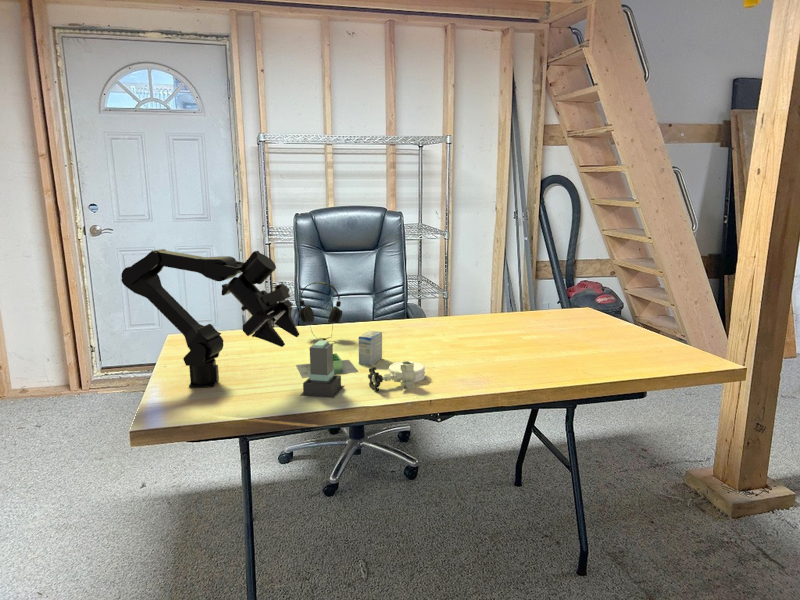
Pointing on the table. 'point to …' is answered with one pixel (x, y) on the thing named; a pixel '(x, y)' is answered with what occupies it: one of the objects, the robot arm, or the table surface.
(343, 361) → the port
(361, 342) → the medicine box
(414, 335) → the table surface
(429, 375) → the table surface
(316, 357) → the plug
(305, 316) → the headphones
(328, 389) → the box
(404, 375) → the valve
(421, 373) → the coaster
